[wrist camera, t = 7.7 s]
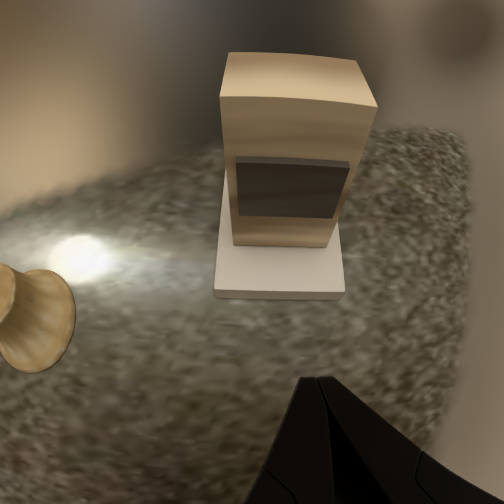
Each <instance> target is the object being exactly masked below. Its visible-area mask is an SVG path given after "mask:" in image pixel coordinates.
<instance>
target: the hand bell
mask: <svg viewBox="0 0 504 504" xmlns="http://www.w3.org/2000/svg"><path fill="white" fill-rule="evenodd" d="M74 325H75V303H74V298H73V295H72V292H71V290H70V288H69V286H68V284H67V283H66V282H65V280H64V279H63V278H62V277H61V276H59V275H58V274H56V273H55V272H52V271H50V270H43V269H36V270H31V271H28V272H25V273H21V272H18V271H16V270H14V269H12V268H11V267H9V266H8V265H6V264H2V263H0V351H1V353H2V354H3V356H4V357H5V359H6V360H7V361H8V363H9V364H10V365H11V366H13V367H14V368H15V369H17V370H19V371H22V372H25V373H38V372H41V371H44V370H46V369H48V368H49V367H51V366H52V365H54V364H55V363H56V362H57V361H58V360H59V359H60V358H61V356H62V355H63V354H64V352H65V351H66V349H67V347H68V345H69V343H70V340H71V337H72V334H73V330H74Z"/></svg>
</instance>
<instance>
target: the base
mask: <svg viewBox="0 0 504 504" xmlns="http://www.w3.org/2000/svg"><path fill="white" fill-rule="evenodd" d="M214 290H215V294H216V297H217V298H235V299H273V300H340V298H341V297H342V295H343V294H344V293H345V285H344V274H343V265H342V256H341V247H340V239H339V231H338V223H336V225H335V228H334V231H333V233H332V236H331V238H330V240H329V243H328V245H327V247H297V246H260V245H233V237H232V227H231V217H230V207H229V196H228V186H227V175H226V171H225V180H224V190H223V199H222V209H221V219H220V229H219V239H218V250H217V261H216V273H215V285H214Z"/></svg>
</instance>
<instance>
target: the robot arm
mask: <svg viewBox="0 0 504 504" xmlns="http://www.w3.org/2000/svg"><path fill="white" fill-rule="evenodd" d="M243 504H504V501H502V500H500V499H498V498H497V497H495V496H493V495H491V494H489V493H487V492H485V491H484V490H481V489H480V488H478V487H477V486H475V485H473V484H471V483H469V482H468V481H466V480H464V479H463V478H461V477H460V476H458V475H456V474H455V473H453V472H451V471H450V470H449V469H447V468H446V467H444V466H443V465H442V464H440V463H439V462H437V461H436V460H435V459H433V458H432V457H431V456H430V455H428V454H427V453H426V452H424V451H422V452H421V449H420V448H419V447H418V446H417V445H415V444H414V443H413V442H412V441H410V440H409V439H408V438H407V437H405V436H404V435H403V434H402V433H400V432H399V431H398V430H397V429H395V428H394V427H393V426H392V425H391V424H389V423H388V422H387V421H386V420H384V419H383V418H382V417H381V416H380V415H378V414H377V413H376V412H375V411H373V410H372V409H371V408H370V407H369V406H367V405H366V404H365V403H364V402H363V401H361V400H360V399H359V398H358V397H357V396H356V395H354V394H353V393H352V392H351V391H350V390H348V389H347V388H346V387H345V386H344V385H343V384H341V383H340V382H339V381H338V380H337V379H336V378H334V377H333V376H319V377H317V378H315V377H300V378H299V380H298V382H297V385H296V387H295V390H294V393H293V395H292V398H291V400H290V403H289V405H288V408H287V410H286V413H285V415H284V418H283V420H282V423H281V425H280V427H279V430H278V432H277V435H276V437H275V439H274V442H273V444H272V446H271V448H270V451H269V453H268V455H267V457H266V460H265V462H264V464H263V466H262V469H261V470H260V472H259V474H258V477H257V479H256V481H255V483H254V485H253V487H252V489H251V490H250V492H249V494H248V496H247V498H246V499H245V501H244V502H243Z"/></svg>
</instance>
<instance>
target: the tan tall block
mask: <svg viewBox="0 0 504 504" xmlns="http://www.w3.org/2000/svg"><path fill="white" fill-rule="evenodd" d="M220 106H221V116H222V117H221V118H222V129H223V141H224V153H225V164H226V175H227V186H228V196H229V207H230V217H231V227H232V237H233V245H260V246H297V247H327V245H328V243H329V240H330V238H331V236H332V233H333V231H334V228H335V225H336V223H337V220H338V218H339V215H340V213H341V210H342V207H343V205H344V202H345V200H346V197H347V194H348V192H349V189H350V186H351V184H352V181H353V178H354V175H355V173H356V170H357V167H358V164H359V161H360V159H361V156H362V153H363V150H364V147H365V144H366V141H367V138H368V135H369V132H370V129H371V126H372V123H373V120H374V117H375V114H376V111H377V108H378V106H377V104H376V102H375V100H374V98H373V95H372V93H371V91H370V89H369V87H368V84H367V82H366V80H365V78H364V76H363V74H362V72H361V70H360V68H359V66H358V64H357V62H356V61H352V60H346V59H337V58H330V57H321V56H311V55H299V54H284V53H257V52H256V53H255V52H236V53H235V52H233V53H232V52H230V53H229V54H228V59H227V64H226V68H225V73H224V78H223V83H222V88H221V93H220Z"/></svg>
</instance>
